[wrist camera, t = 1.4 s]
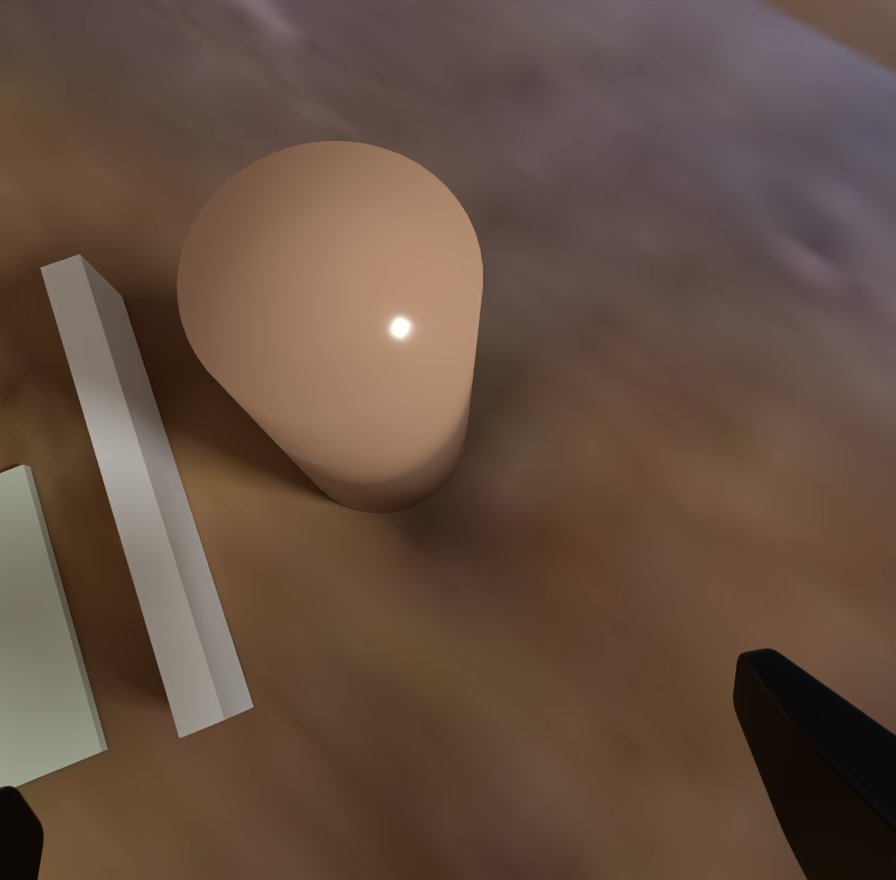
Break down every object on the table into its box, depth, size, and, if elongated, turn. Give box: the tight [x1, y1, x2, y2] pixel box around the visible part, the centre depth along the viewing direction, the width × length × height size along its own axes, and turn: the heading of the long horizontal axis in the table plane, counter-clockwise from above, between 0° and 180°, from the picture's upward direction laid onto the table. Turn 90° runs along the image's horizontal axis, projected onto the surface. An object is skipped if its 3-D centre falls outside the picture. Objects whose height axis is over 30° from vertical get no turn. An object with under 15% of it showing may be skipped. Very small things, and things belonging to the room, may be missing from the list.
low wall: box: [40, 254, 253, 738], centre depth 22 cm, size 14×1×3 cm, turn 22°
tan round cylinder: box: [177, 141, 483, 513], centre depth 19 cm, size 6×6×11 cm
